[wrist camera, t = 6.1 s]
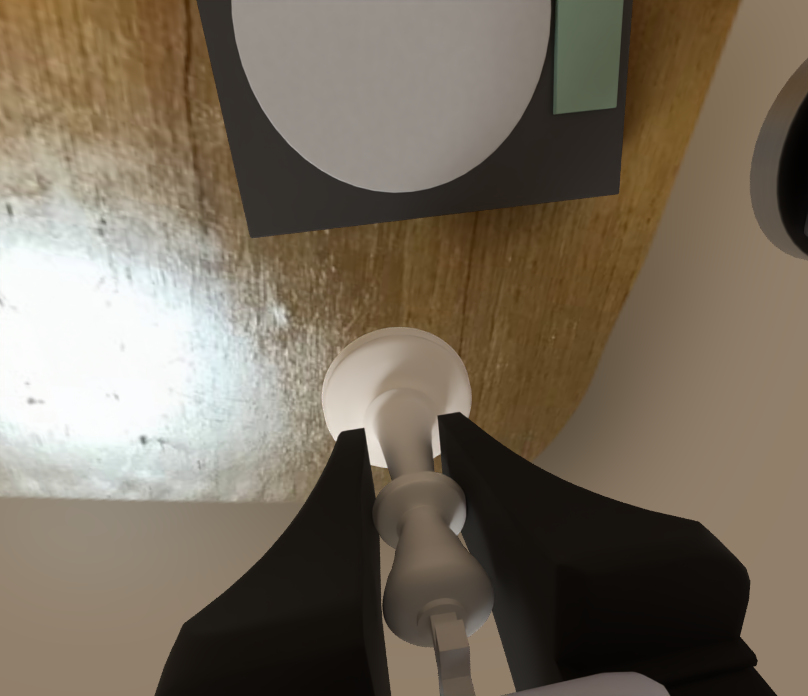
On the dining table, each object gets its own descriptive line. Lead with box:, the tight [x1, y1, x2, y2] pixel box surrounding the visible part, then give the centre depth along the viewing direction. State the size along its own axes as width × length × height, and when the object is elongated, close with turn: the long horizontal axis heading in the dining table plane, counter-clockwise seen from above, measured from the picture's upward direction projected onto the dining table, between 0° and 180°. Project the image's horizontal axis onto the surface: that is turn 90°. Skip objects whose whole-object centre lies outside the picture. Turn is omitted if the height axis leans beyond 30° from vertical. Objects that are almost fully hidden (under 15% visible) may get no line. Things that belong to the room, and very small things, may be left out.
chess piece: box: [322, 327, 494, 696], centre depth 11 cm, size 5×5×10 cm
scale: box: [197, 0, 633, 238], centre depth 16 cm, size 14×12×3 cm
